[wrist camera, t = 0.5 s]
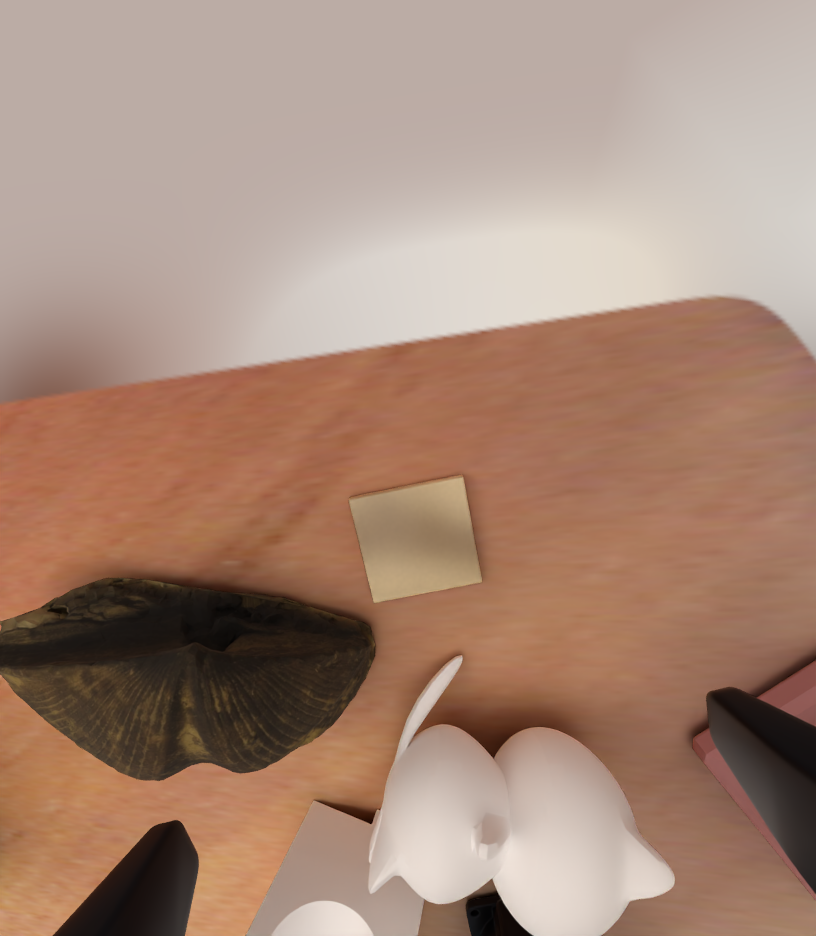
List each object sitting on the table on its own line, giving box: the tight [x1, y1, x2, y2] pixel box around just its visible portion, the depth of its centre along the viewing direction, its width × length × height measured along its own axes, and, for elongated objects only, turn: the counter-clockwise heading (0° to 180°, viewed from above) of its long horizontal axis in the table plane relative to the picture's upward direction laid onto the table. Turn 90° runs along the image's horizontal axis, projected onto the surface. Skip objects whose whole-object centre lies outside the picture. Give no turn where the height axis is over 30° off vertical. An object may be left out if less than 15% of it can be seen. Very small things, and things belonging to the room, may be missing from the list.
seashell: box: [0, 578, 375, 781], centre depth 20 cm, size 16×9×7 cm, turn 81°
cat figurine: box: [368, 655, 675, 936], centre depth 21 cm, size 9×11×12 cm
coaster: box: [349, 475, 482, 603], centre depth 22 cm, size 6×6×1 cm
